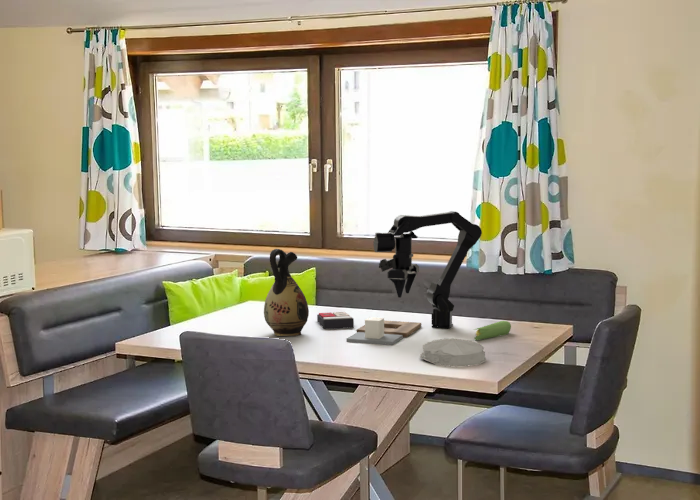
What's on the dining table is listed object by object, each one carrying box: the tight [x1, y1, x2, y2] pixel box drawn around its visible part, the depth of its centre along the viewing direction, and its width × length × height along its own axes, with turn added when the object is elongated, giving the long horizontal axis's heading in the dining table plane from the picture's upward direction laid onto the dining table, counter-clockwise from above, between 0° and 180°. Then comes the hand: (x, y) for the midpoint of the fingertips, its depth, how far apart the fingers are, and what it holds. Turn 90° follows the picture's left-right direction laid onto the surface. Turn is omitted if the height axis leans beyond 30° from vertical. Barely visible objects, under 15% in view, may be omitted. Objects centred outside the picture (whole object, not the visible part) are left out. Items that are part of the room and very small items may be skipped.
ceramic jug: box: [263, 248, 310, 337], centre depth 297 cm, size 17×15×30 cm
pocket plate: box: [356, 319, 422, 338], centre depth 304 cm, size 18×18×2 cm
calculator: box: [316, 311, 355, 330], centre depth 315 cm, size 11×4×15 cm
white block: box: [364, 316, 385, 339], centre depth 289 cm, size 5×5×6 cm
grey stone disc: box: [419, 337, 487, 367], centre depth 262 cm, size 20×20×7 cm
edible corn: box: [472, 320, 512, 342], centre depth 292 cm, size 5×20×5 cm
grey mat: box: [346, 331, 404, 346], centre depth 289 cm, size 16×11×1 cm
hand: (403, 295), depth 305 cm, fingers open, 9 cm apart
